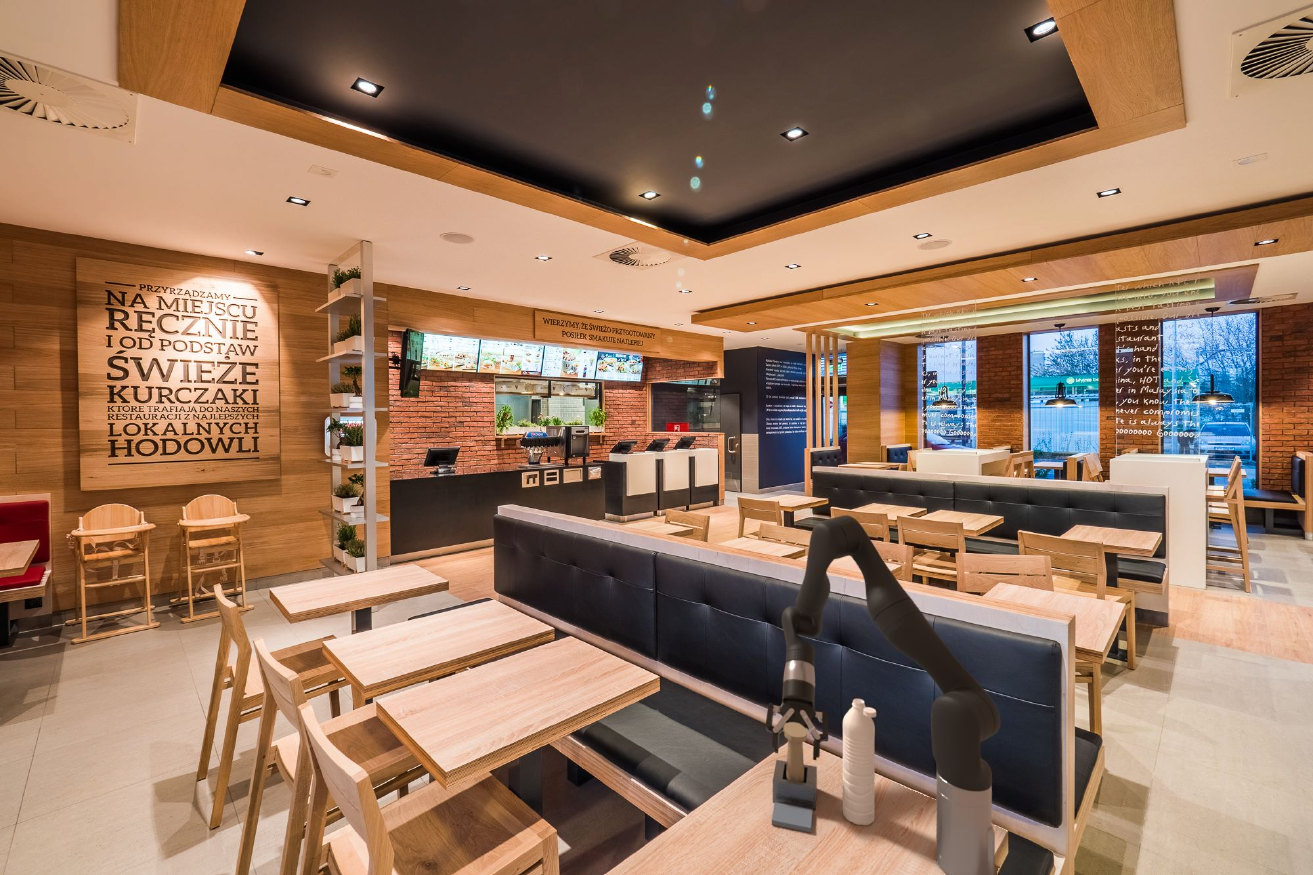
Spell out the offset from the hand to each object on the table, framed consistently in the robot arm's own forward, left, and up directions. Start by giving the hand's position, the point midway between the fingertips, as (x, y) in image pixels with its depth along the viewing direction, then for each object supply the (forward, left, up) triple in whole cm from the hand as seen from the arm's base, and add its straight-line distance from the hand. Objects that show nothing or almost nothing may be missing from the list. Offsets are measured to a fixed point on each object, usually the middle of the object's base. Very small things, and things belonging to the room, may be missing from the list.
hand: (795, 755), depth 129 cm
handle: (0, 0, -9) cm, 9 cm away
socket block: (0, 0, -9) cm, 9 cm away
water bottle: (-14, +4, -9) cm, 17 cm away
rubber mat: (0, +9, -9) cm, 12 cm away
